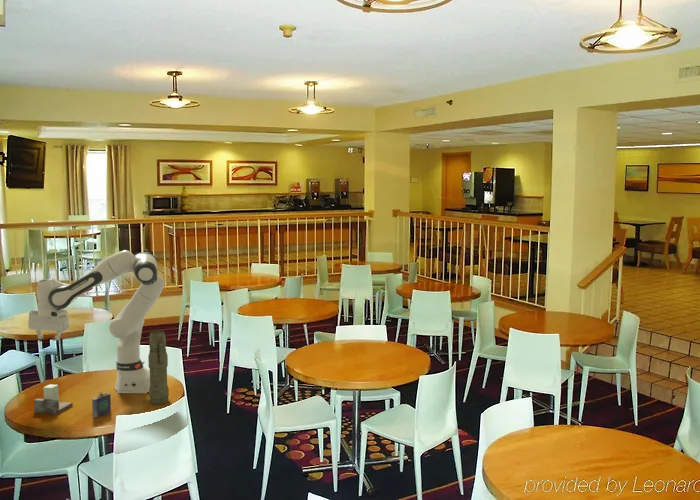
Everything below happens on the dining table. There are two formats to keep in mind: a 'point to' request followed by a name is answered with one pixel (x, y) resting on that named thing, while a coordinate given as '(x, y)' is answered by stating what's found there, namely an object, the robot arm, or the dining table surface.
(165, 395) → the stone statue
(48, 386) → the cabinet block
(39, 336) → the robot arm
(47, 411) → the display stand
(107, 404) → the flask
